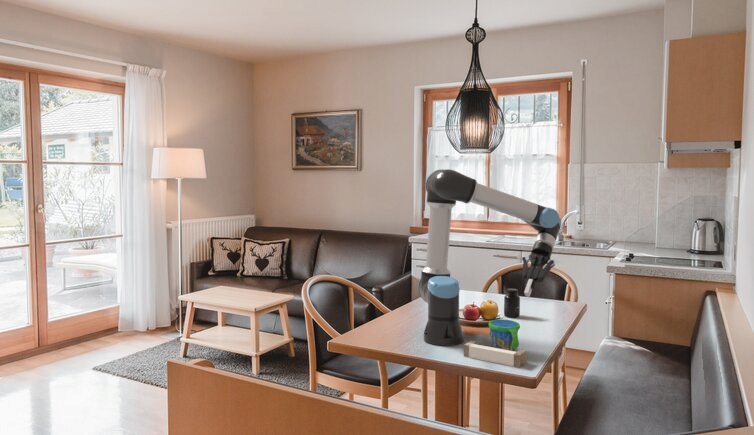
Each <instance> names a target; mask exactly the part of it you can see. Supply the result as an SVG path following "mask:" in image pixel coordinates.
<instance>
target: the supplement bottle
mask: <svg viewBox="0 0 754 435" xmlns="http://www.w3.org/2000/svg"><path fill="white" fill-rule="evenodd" d="M503 297H504V299H503V316H504V317H506V318H509V319H511V318H512V319H514V318H520V314H521V313H520V312H521V311H520V310H521V307H520V306H521V297H520V296H519V290H518V289H517V288H507V289H506V294H505V295H504V296H503Z"/></svg>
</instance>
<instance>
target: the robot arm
mask: <svg viewBox="0 0 754 435" xmlns="http://www.w3.org/2000/svg"><path fill="white" fill-rule="evenodd" d="M424 186H425V187H424V188H425V191H426V204H427V205H428V206H429V216H428V217H429V218H428V229H427V230H428V232H427V244H426V245H427V246H426V258H425V266H424V267H423V268H422V269H421V274H420V279H419V281H418V284H417V291H418V293H419V296H420V297H421V299H422V300H423V301H424V302H425V303H427V317H428V318H427V322H426V326H425V328H424V331H423V341H424V342H426V343H428V344H430V345H431V344H432V345H437V346H456V345H459V344H461V343H463V342H464V340H465V339H464V331H463V329H462V328H463V327H462V326H461V322H460V283H459V281H458V280H457V279H456V278H455V277H452V276H451V271H450V270H449V268H448V260H449V259H448V258H449V248H450V235H451V222H452V210H453V208H454V207H455V206H456V205H457V204H456V203H457V202H462V203H464V204H467V205H468V204H469V203H472V204H474V205H475V204H476V205H479V206H481V207H484V208H487V209H489V210H492V211H496V212H498V213H502V214H504V215H508V216H511V217H514V218H516V219H519V220H521V221H523V222H525V223H526V224H527V225H528V226H530V227H531V228H533V229H534V230H535V231H537V235H536V238H535V241H534V244H533V246H532V248H531V249H532V250H531V252H530V254H529V255H528V256H527V257H525V256H524V257H522V258H521V259H522V262H523V263H522V274H521V275H522V278H523V280H524V281H525V282H524V287H525V288H524V292H523V294H524V296H525V297H526V298H530V297H531V294H532V291H533V290H535V289H536V287H537V283H543V281H544V280H545V279H546V277H547V276H548V274H549V272H550V271H551V269H553V267H555V266H556V263H555V261H554V260H553V259H551V256H552V253H553V250H554V247H555V244H556V242H557V238H558V236H559V233H560V230H561V227H562V219H561V217H560V214H559V212H558V210H555V208H552V207H547V206H543V205H541V204H537V203H535V202H532V201H530V200H526V199H524V198H521V197H518V196H515V195H512V194H509V193H507V192H503V191H501V190H498V189H495V188H493V187H489V186H487V185H483V184H482V183H478V181H477V180H476V179H475V178H472V177H469V176H468V175H465V174H462V173H461V172H459V171H456V170H454V169H436V170H434V171H432V172H431V173H430V174H429V175H428V176H427V178H426V179H425V185H424ZM529 262H530V267H529ZM528 268H529V269H528Z"/></svg>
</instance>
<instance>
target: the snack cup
mask: <svg viewBox="0 0 754 435" xmlns="http://www.w3.org/2000/svg"><path fill="white" fill-rule="evenodd" d="M488 327H489V330H490V331H489V335H490V339H491V344H492V346H491V347H493V348H498V349H504V350H509V351H515V352H516V349H517V348H519V346H520V341H519V337H518V336H519V334H518V332H519V329H520V328H521V325H520V323H519V322H517V321H515V320H512V319H511V320H510V319H509V320H508V319H492V320H490V321H489V322H488Z"/></svg>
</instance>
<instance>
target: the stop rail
mask: <svg viewBox="0 0 754 435" xmlns="http://www.w3.org/2000/svg"><path fill="white" fill-rule="evenodd" d="M463 357H466V358H471V359H475V360H479V359H480V360H481V361H484V360H485V362H488V363H489V362H490V363H495V364H500V365H505V366H510V367H515V368H519V369H520V368H521V367H523V366H524V365H525V364H526V363H527V350H525V349H519V350H518V351H516V350H515V351H509V350H504V349H498V348H493V347H492V346H486V345H480V344H477V341H476V340H475V341H474V340H470V341H468V342H466V343H464V344H463ZM480 360H479V361H480Z"/></svg>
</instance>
